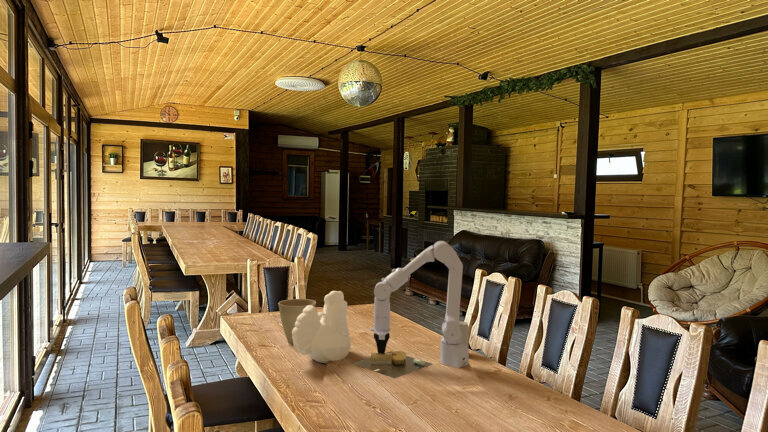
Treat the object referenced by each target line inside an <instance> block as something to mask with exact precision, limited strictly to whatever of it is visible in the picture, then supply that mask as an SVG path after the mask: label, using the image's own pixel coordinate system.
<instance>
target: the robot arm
mask: <svg viewBox="0 0 768 432" xmlns="http://www.w3.org/2000/svg"><path fill="white" fill-rule="evenodd" d="M435 259H436V260H437V261H439V262H441V263H442V264H443V265H445V266H446V267H447V268H448V280H447V282H448V283H447V291H446V292H447V295H446V305H445V306H446V308H445V316H444V321H443V322H442V324H441V332H442V337H441V339H440V357H439V358H440V359H439V360H440V364H442V365H444V366H450V367H452V368H453V367H454V368H456V369H460V368H462V367H466V366H468V365H469V357H470V356H469V353H470V351H469V346H468V347H467V346H466V345H464V344H463V343H462V342H461V336H462V334H461V330H460V327H459V325H460V310H461V297H462V296H461V295H462V285H463V269H464V265H463V263H462V261H461V259H460V257H459V255H458V253H457V252H456V250H455V249H454V247H452V246H451V245H450V244H449V243H448V242H446V241H445V240H438V241H436V242H434V244H432V245H430V246H428V247H427V248H425V249H424V250H423V251H422V252H420V253H419V254H418V255H416V257H414V258H413V259H412V260H411V261H409V262H408V264H406V265H405V266H404V267H397V268H393V269H391V273H389V274H388V275H387V276H386V277H382V278H381V281H379V282H377V283H376V285H375V286H374V288H373V289H374V290H373V295H374V300H373V301H374V304H373V327H370V331H371V332H374V333H373V338H374V340H375V344H376V350H377V353H386V348H387V344H388V341H389V339H390V337H391V335H390V332H391V328H390V327H391V303H390V298H391V294H392V293H394V292H395V291H397V290H399V288H401V287H402V286H403V285H405V284H406V282H408V281H409V276H410V275H411V274H412V273H414V272H415V271H416V270H418V269H419V268H420V267H422V266H423V265H425V264H426V263H430V262H431V263H432V262H435Z"/></svg>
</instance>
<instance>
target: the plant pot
mask: <svg viewBox="0 0 768 432" xmlns="http://www.w3.org/2000/svg"><path fill="white" fill-rule="evenodd" d="M277 304H278V311H279V316H280V321H281V324H282V325H281V326H282V329H283V332H284V335H285V338H286V340H287V342H288V343H289V344H293V345H294V343H293V339H292V330H293V329H294V328H295V322H296V319H297V317H298V316H299V315H300V314H301V313H303V312H302V311H303V309H304V308H305V307H306V306H308V305H312V306H314V307H315V308H316V305H317V302H316V300H313V299H308V298H291V299H285V300H281V301H279V302H278V303H277Z"/></svg>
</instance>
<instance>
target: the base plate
mask: <svg viewBox="0 0 768 432" xmlns="http://www.w3.org/2000/svg"><path fill="white" fill-rule="evenodd" d="M392 352H394V351H392V350H390V351H387V352H386V351H385V353H392ZM351 364H353V365H355V366H358V367H361V368H364V369H367V370H369V371H371V372H375V373H378V374H381V375H384V376H386V377H389V378H392V379H397V378H399V377H403V376H405V375H407V374H410V373H413V372H416V371H418V370H421V369H424V368H426V367H429V366H432V365H433V363H431V362H427V361H425V360H422V359H418V358H415V357H412V356H408V355H406V363H405V364H403V365H395V364H392V363H391V361H371V356H369V357H368V358H364V359H361V360H358V361H355V362H352V363H351Z"/></svg>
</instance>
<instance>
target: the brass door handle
mask: <svg viewBox="0 0 768 432" xmlns="http://www.w3.org/2000/svg"><path fill="white" fill-rule="evenodd" d="M406 356H407V353H406V352H405V351H402V350H396V351H395V350H394V351H393V352H392V353H386V352H385V353H378V352H370V357H371V361H391V363H392V364H395V365H403V364H405V363H406Z"/></svg>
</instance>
